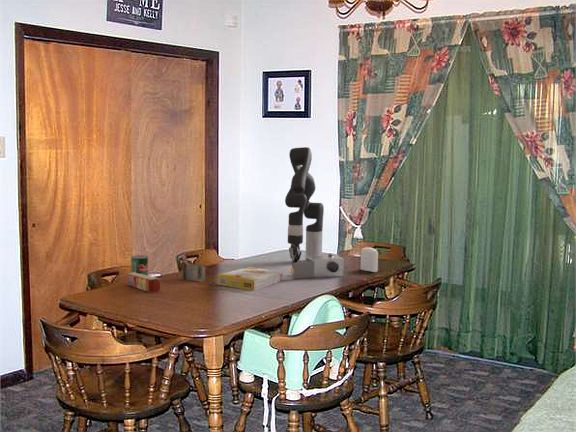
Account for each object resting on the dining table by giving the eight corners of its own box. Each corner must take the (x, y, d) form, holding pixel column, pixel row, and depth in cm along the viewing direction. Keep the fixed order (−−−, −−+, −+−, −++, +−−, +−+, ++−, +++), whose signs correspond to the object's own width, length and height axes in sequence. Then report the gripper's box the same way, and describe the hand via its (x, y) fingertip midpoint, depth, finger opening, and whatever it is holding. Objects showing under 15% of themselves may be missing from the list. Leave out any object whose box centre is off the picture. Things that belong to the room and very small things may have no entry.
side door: (313, 276, 356) (313, 261, 355) (315, 277, 354) (315, 261, 354) (290, 278, 351) (291, 262, 350) (292, 279, 349) (292, 263, 348)
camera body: (305, 272, 368) (305, 253, 367) (334, 271, 373) (335, 252, 372) (314, 278, 354) (315, 258, 353) (344, 276, 359) (345, 257, 358)
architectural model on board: (181, 280, 346) (181, 260, 345) (185, 279, 348) (185, 259, 347) (201, 282, 340) (201, 262, 339) (204, 281, 343) (205, 261, 342)
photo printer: (359, 269, 380) (359, 246, 379) (364, 269, 383) (365, 246, 381) (373, 272, 372) (373, 249, 371) (378, 271, 375) (379, 248, 374)
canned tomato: (144, 281, 339) (144, 258, 338) (128, 280, 340) (128, 257, 339) (150, 278, 347) (150, 255, 345) (135, 277, 348) (135, 254, 347)
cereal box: (216, 274, 331) (247, 265, 356) (216, 286, 332) (247, 276, 357) (254, 279, 322) (283, 270, 347) (254, 292, 322) (283, 281, 347)
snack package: (124, 286, 328) (124, 271, 327) (137, 284, 332) (137, 270, 331) (148, 294, 312) (148, 278, 311) (161, 292, 316) (161, 277, 315)
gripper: (284, 231, 357) (283, 266, 359) (292, 235, 344) (291, 271, 347) (298, 231, 359) (297, 265, 361) (307, 235, 347) (306, 270, 349)
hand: (294, 268), depth 354 cm, fingers closed
